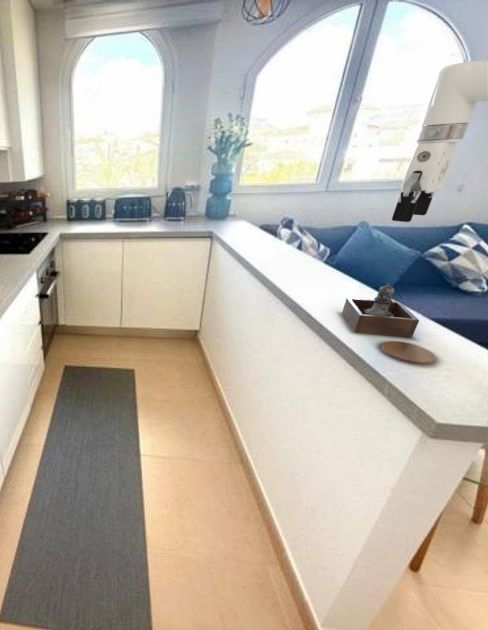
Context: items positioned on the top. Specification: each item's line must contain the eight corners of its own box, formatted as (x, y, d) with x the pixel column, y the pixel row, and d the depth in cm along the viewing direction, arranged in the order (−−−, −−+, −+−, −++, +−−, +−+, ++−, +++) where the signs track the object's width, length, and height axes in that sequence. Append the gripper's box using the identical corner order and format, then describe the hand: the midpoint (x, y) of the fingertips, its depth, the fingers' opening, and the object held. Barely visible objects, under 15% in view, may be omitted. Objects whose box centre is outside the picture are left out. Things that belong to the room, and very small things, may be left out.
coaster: (422, 346, 81) (423, 344, 81) (442, 367, 74) (443, 364, 74) (375, 341, 85) (376, 339, 84) (389, 360, 77) (390, 358, 77)
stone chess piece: (354, 321, 94) (368, 280, 89) (374, 319, 94) (388, 278, 89) (374, 331, 89) (389, 288, 84) (394, 328, 89) (411, 285, 84)
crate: (392, 318, 94) (399, 301, 92) (411, 338, 85) (419, 320, 83) (341, 313, 99) (346, 297, 96) (354, 332, 89) (360, 315, 87)
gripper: (451, 135, 65) (416, 226, 72) (476, 131, 73) (443, 213, 80) (400, 137, 71) (373, 221, 78) (428, 134, 79) (402, 210, 86)
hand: (408, 217), depth 79 cm, fingers open, 9 cm apart
